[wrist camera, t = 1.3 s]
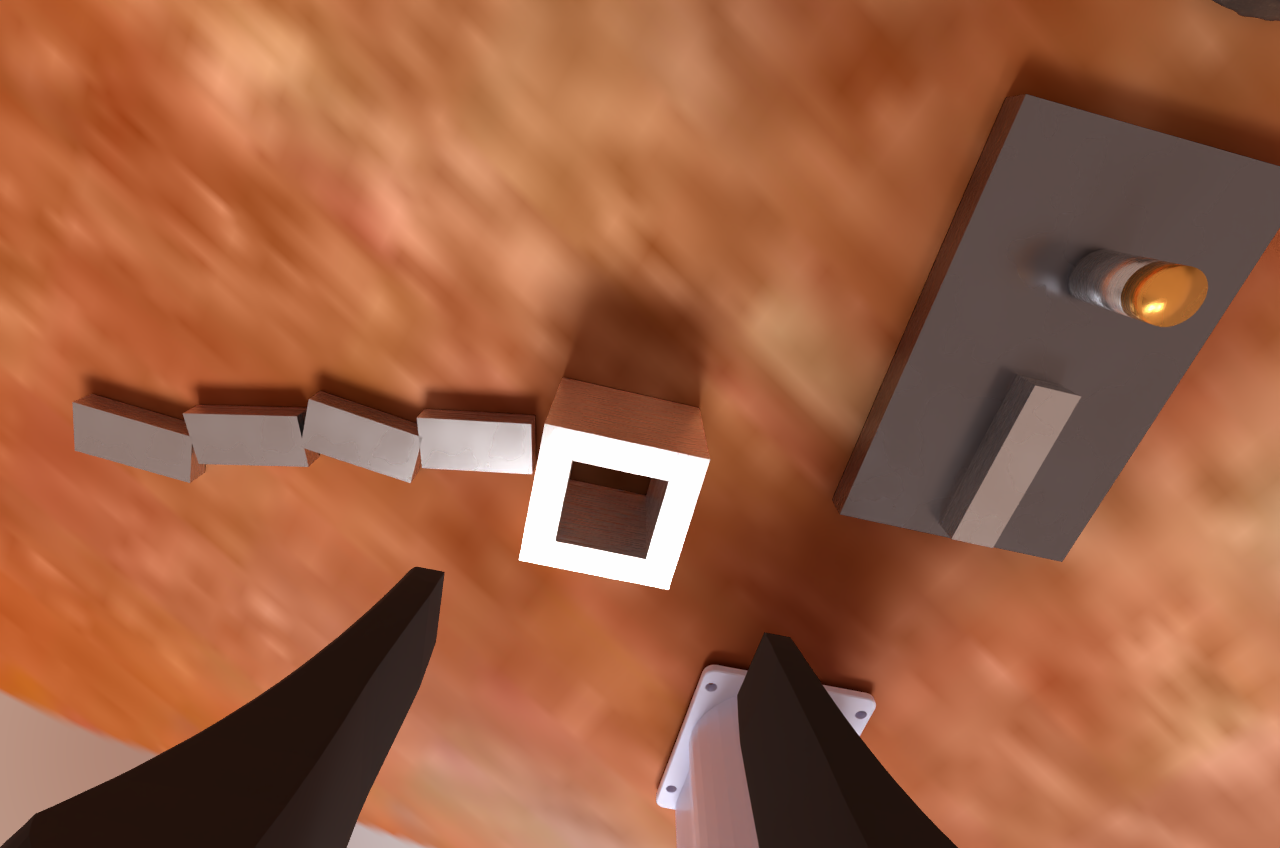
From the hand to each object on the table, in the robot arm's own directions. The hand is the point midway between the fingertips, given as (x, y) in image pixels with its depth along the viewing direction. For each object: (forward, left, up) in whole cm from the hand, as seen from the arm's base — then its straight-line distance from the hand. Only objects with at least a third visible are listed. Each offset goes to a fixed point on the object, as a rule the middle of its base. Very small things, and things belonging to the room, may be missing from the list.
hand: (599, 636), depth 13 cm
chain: (-2, +11, -10) cm, 15 cm away
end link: (0, 0, -10) cm, 10 cm away
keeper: (+7, -13, -10) cm, 17 cm away
